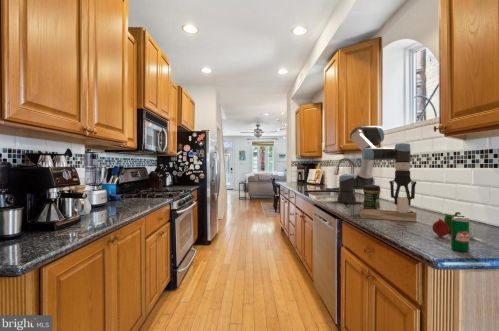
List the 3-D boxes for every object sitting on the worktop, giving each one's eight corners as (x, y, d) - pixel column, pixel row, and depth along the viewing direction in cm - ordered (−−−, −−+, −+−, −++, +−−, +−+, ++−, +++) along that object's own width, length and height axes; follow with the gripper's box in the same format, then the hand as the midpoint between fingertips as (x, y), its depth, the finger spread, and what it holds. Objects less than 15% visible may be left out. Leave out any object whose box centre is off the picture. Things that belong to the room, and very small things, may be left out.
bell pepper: (442, 229, 120) (443, 209, 120) (465, 232, 116) (465, 210, 116) (445, 233, 113) (445, 211, 113) (469, 236, 109) (469, 213, 109)
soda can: (456, 252, 89) (457, 218, 89) (447, 247, 94) (448, 215, 94) (472, 253, 88) (473, 219, 88) (462, 248, 93) (463, 216, 93)
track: (359, 214, 155) (359, 206, 155) (411, 218, 146) (411, 209, 146) (361, 218, 146) (361, 209, 146) (417, 221, 136) (417, 212, 136)
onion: (451, 237, 107) (451, 219, 107) (445, 239, 104) (445, 220, 104) (436, 234, 112) (436, 216, 112) (429, 236, 109) (429, 217, 109)
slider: (397, 213, 146) (397, 195, 146) (405, 214, 145) (405, 196, 145) (399, 215, 142) (399, 196, 142) (407, 215, 140) (407, 197, 140)
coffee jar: (360, 212, 161) (360, 184, 161) (368, 211, 165) (368, 183, 165) (374, 215, 153) (374, 185, 153) (382, 214, 157) (382, 184, 157)
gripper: (387, 169, 142) (386, 210, 142) (422, 170, 137) (421, 212, 137) (384, 169, 149) (384, 208, 149) (417, 170, 144) (417, 210, 144)
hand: (402, 210), depth 143 cm, fingers closed on slider, 4 cm apart
